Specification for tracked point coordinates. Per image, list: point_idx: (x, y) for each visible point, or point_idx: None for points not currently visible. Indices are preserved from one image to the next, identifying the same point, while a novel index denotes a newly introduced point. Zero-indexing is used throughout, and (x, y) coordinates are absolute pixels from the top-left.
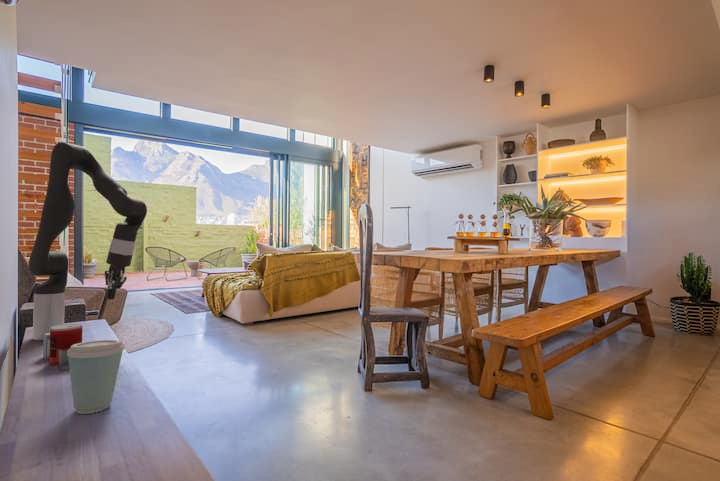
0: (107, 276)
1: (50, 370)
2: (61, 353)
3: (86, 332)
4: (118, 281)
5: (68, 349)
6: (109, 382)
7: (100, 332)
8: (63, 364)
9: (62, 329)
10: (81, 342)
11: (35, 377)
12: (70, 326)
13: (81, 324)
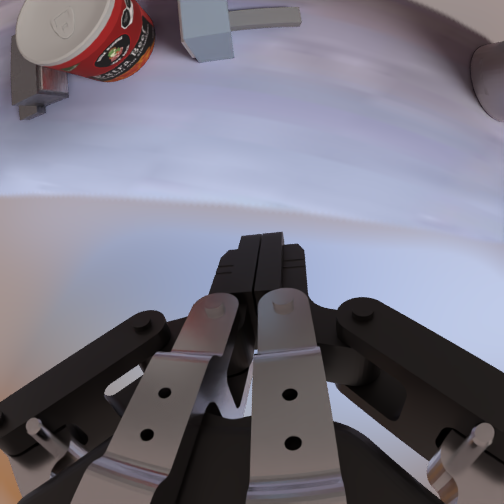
0: (441, 400)
1: None
2: None
3: (498, 186)
4: (31, 393)
5: (15, 49)
6: None
7: (473, 219)
8: None
9: (23, 8)
10: (75, 74)
11: None
12: (64, 21)
13: (47, 60)
